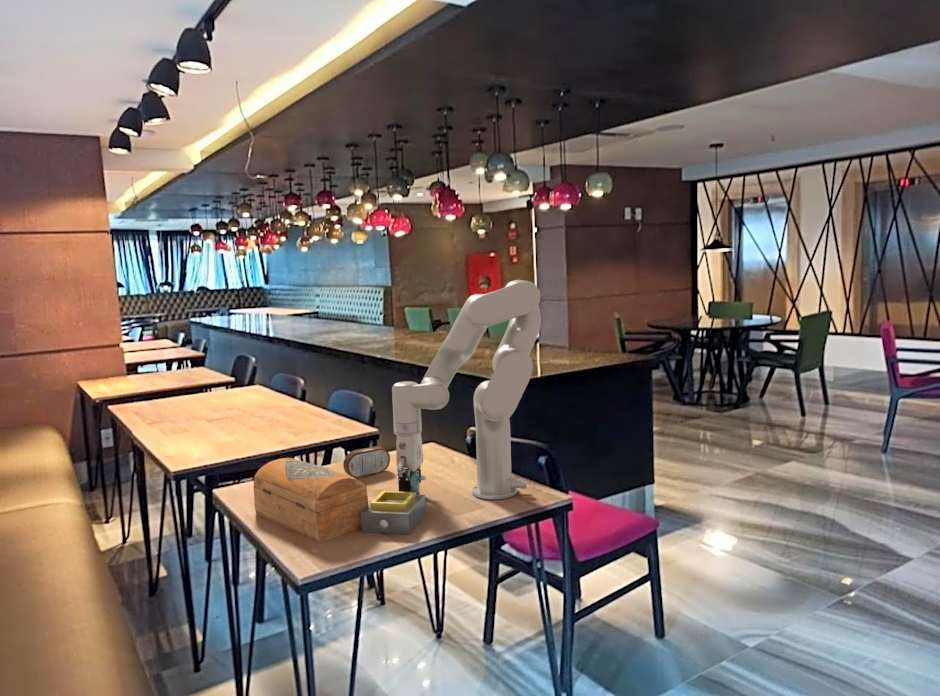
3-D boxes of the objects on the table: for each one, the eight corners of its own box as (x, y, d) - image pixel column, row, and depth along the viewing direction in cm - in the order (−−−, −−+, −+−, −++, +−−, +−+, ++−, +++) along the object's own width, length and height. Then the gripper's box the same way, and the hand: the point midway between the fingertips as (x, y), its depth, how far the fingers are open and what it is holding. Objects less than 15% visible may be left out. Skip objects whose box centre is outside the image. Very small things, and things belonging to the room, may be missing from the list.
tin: (387, 469, 218) (386, 443, 217) (392, 471, 216) (390, 445, 215) (343, 478, 210) (342, 452, 209) (348, 481, 207) (346, 454, 206)
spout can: (428, 496, 191) (427, 468, 190) (423, 503, 186) (422, 474, 185) (405, 495, 192) (403, 468, 191) (399, 502, 187) (398, 473, 186)
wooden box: (373, 524, 172) (371, 470, 170) (317, 545, 161) (313, 487, 159) (308, 498, 193) (305, 450, 192) (254, 515, 182) (250, 464, 180)
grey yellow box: (425, 513, 178) (424, 489, 177) (407, 537, 163) (406, 510, 162) (381, 511, 180) (380, 487, 180) (359, 534, 165) (358, 508, 165)
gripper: (411, 435, 177) (414, 499, 179) (429, 420, 194) (431, 479, 196) (383, 435, 179) (387, 498, 181) (404, 419, 196) (406, 478, 198)
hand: (410, 488), depth 189 cm, fingers open, 9 cm apart
